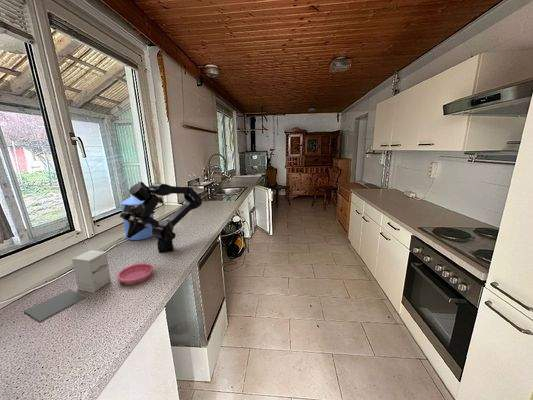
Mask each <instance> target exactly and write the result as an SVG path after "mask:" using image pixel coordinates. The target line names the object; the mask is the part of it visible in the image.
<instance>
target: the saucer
mask: <svg viewBox="0 0 533 400" xmlns="http://www.w3.org/2000/svg"><path fill="white" fill-rule="evenodd" d="M153 272H154V266H153V265H151V264H149V263H136V264H131V265H130V266H126V267H124V268H123V269H121V270H120V271H119V272H118V273H117V275H116V278H117V281H118V282H120V283H122V284H124V285H128V286H131V285H132V286H133V285H137V284H141V283H143V282H145V281H147V279H149V277H150V276H151V275H152V274H153Z"/></svg>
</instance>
